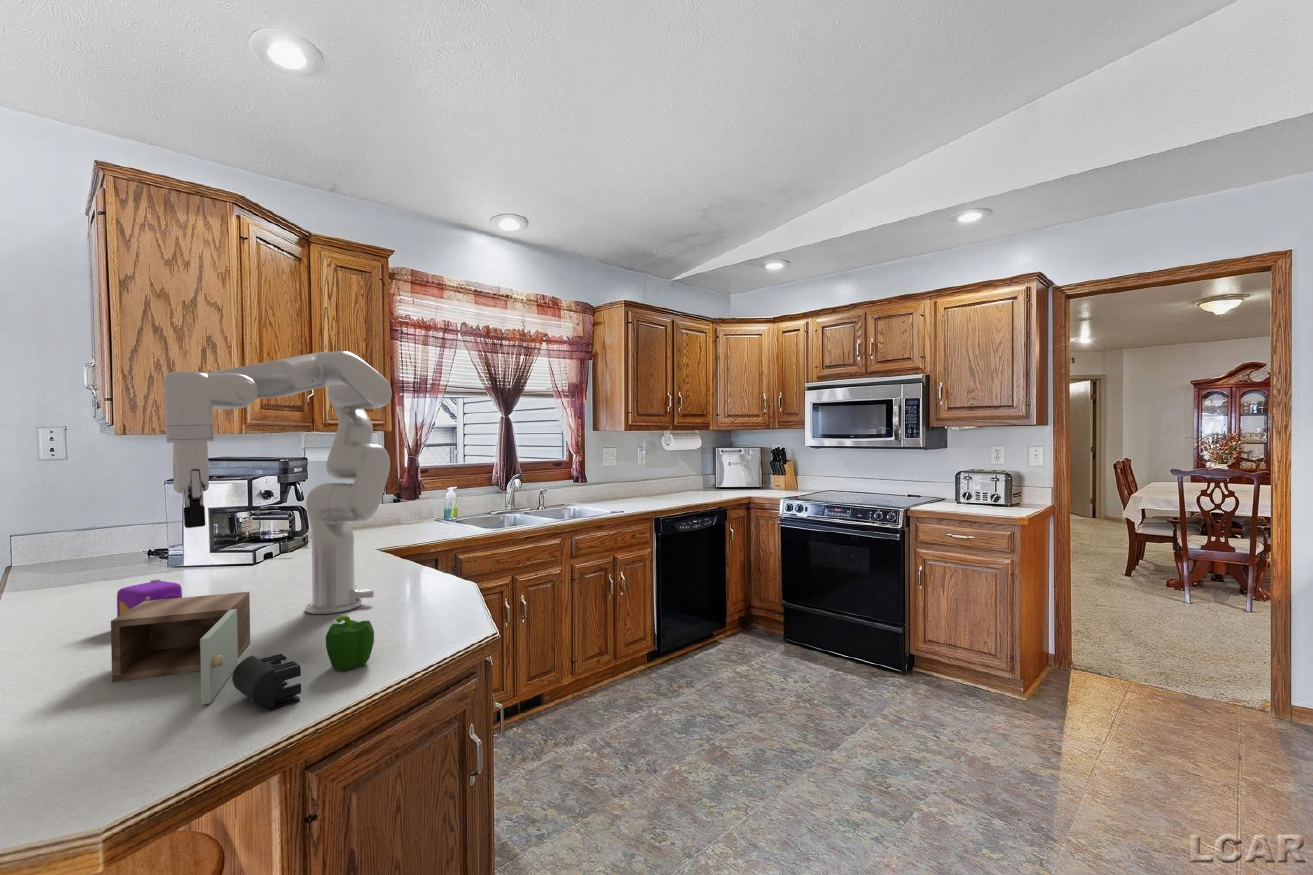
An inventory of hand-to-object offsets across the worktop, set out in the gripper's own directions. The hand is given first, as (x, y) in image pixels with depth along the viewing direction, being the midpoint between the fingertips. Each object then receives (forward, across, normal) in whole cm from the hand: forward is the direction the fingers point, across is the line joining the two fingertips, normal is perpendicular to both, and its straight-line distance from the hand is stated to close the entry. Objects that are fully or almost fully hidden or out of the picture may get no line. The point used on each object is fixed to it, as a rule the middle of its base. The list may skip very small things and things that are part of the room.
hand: (195, 526), depth 121 cm
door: (+25, +21, +1) cm, 33 cm away
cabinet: (+26, +2, -2) cm, 26 cm away
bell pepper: (+26, +27, +20) cm, 43 cm away
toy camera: (+27, -31, -5) cm, 41 cm away
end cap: (+26, +34, +5) cm, 43 cm away
